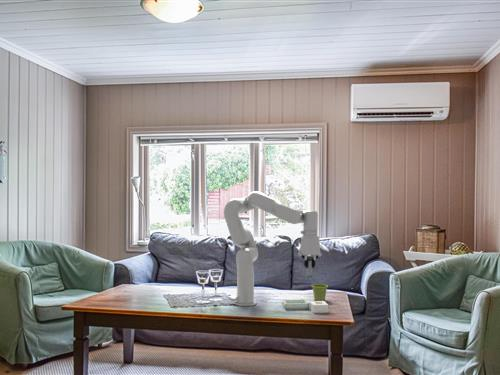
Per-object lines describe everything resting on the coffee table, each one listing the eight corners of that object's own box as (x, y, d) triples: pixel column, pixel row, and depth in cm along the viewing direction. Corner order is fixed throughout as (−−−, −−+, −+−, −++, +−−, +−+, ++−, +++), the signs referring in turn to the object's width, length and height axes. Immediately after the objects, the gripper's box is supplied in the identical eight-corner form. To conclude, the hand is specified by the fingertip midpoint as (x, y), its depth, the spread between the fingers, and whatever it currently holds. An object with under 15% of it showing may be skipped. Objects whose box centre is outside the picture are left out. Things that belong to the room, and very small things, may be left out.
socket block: (313, 312, 211) (313, 305, 211) (309, 308, 219) (309, 301, 219) (328, 312, 212) (328, 304, 212) (324, 308, 220) (324, 301, 220)
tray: (285, 309, 217) (285, 304, 217) (282, 304, 227) (282, 299, 227) (309, 309, 218) (309, 303, 218) (305, 304, 228) (305, 299, 228)
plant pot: (327, 302, 232) (327, 287, 233) (311, 301, 234) (311, 286, 234) (327, 298, 241) (327, 284, 242) (311, 298, 243) (311, 283, 244)
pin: (306, 277, 216) (306, 257, 217) (304, 276, 221) (305, 255, 221) (314, 277, 217) (314, 257, 217) (312, 276, 221) (312, 256, 221)
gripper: (296, 233, 215) (295, 268, 215) (326, 234, 216) (326, 269, 216) (294, 232, 222) (293, 266, 222) (323, 233, 224) (322, 266, 223)
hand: (309, 267), depth 219 cm, fingers closed on pin, 3 cm apart
